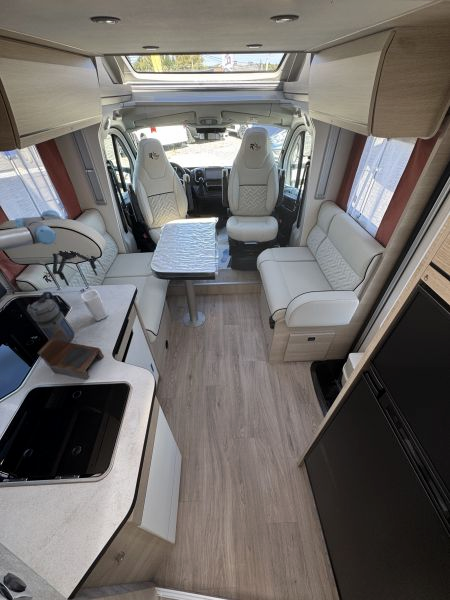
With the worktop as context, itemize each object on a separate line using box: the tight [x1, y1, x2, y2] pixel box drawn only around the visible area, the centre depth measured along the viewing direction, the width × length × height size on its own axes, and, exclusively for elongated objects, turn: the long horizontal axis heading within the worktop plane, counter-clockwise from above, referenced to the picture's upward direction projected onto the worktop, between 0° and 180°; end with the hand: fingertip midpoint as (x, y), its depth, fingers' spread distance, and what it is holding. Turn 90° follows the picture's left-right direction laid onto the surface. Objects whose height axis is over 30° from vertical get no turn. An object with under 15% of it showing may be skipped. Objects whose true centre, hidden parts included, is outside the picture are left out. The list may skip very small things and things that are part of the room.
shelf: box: [37, 330, 105, 381], centre depth 105 cm, size 16×12×14 cm
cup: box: [80, 288, 108, 322], centre depth 127 cm, size 7×7×15 cm
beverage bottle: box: [26, 291, 75, 343], centre depth 113 cm, size 10×13×25 cm
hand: (82, 279), depth 126 cm, fingers open, 13 cm apart
